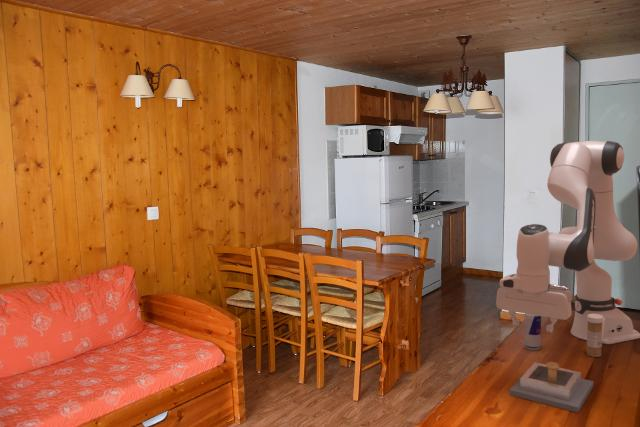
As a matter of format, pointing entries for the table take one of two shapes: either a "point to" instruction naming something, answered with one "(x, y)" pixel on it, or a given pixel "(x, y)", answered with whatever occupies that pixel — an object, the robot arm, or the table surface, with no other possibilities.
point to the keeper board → (570, 405)
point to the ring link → (548, 388)
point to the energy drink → (532, 332)
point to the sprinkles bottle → (594, 335)
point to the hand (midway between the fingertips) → (532, 328)
